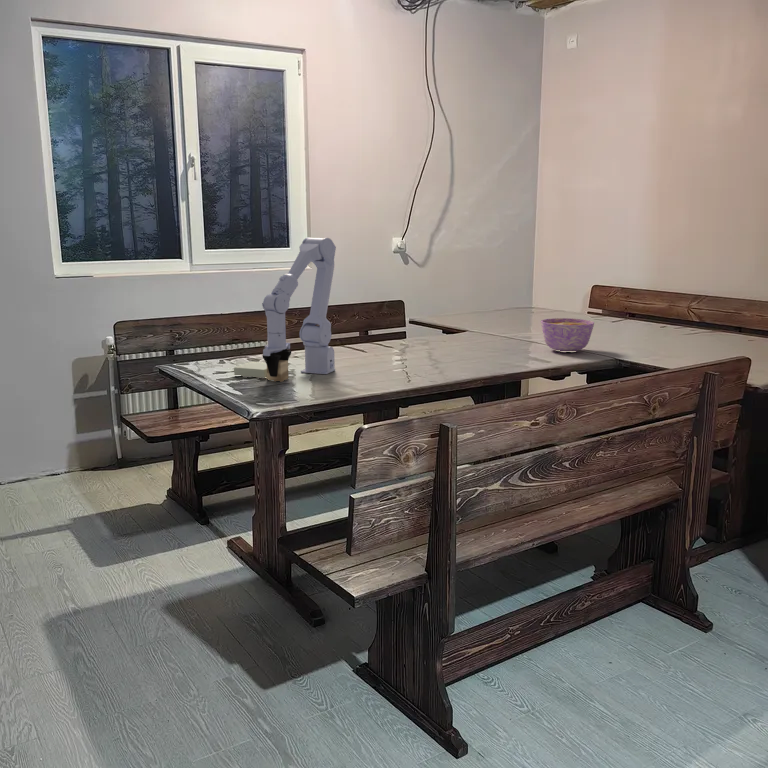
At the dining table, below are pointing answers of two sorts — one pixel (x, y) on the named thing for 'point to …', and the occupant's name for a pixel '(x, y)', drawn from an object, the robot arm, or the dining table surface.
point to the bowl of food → (567, 333)
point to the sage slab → (252, 369)
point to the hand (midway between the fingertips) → (277, 374)
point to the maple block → (280, 371)
